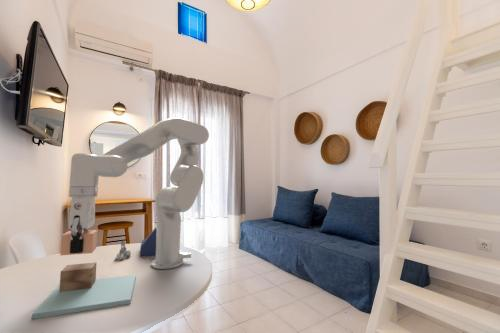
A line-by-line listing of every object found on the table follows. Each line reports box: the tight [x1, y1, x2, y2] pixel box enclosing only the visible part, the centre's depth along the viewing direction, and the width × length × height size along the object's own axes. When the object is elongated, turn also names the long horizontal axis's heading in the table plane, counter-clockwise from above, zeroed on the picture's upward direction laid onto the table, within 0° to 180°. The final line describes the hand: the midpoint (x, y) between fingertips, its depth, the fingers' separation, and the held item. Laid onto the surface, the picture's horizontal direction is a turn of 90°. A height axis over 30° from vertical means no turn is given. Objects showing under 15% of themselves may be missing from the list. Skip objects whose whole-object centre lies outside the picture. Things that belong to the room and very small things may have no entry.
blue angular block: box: [139, 226, 157, 257], centre depth 114 cm, size 12×12×12 cm
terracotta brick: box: [59, 229, 98, 256], centre depth 74 cm, size 8×6×6 cm
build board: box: [31, 274, 137, 320], centre depth 71 cm, size 22×18×1 cm
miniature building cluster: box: [114, 240, 132, 261], centre depth 104 cm, size 9×9×8 cm
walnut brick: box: [59, 262, 97, 292], centre depth 74 cm, size 8×6×6 cm
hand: (79, 249), depth 74 cm, fingers closed on terracotta brick, 5 cm apart
